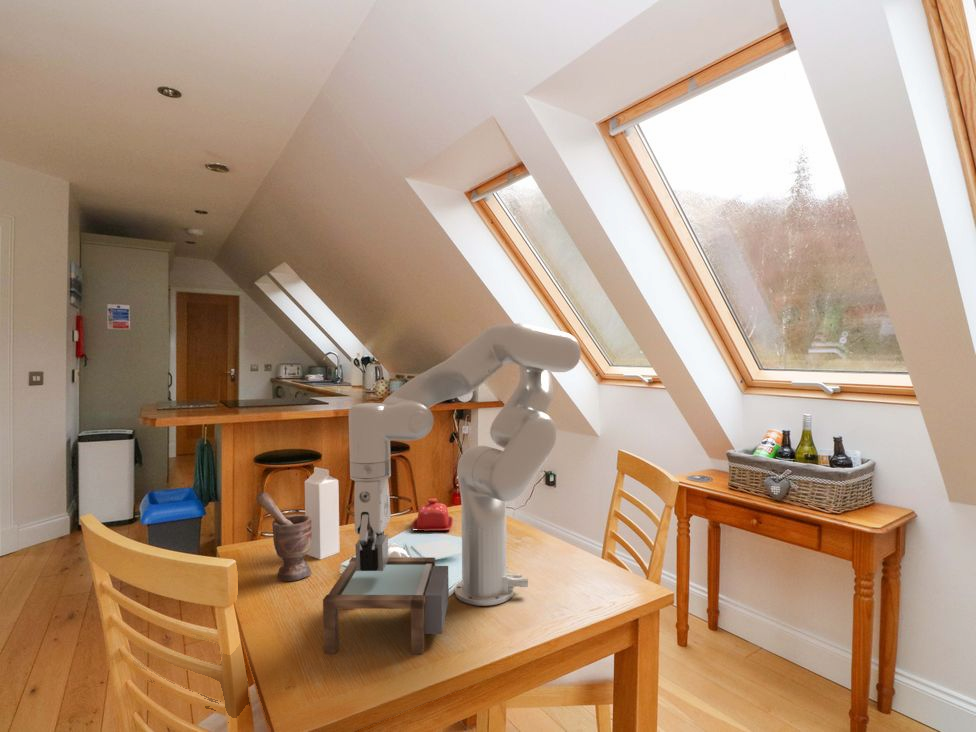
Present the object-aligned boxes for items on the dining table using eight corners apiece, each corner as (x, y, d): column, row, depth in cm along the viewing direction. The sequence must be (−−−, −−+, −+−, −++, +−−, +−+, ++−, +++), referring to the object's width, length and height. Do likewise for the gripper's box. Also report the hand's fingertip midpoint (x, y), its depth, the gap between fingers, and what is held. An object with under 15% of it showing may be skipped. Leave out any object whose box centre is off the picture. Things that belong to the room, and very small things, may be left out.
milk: (325, 547, 146) (324, 464, 145) (339, 552, 143) (338, 467, 142) (305, 554, 141) (303, 468, 141) (320, 560, 138) (318, 472, 137)
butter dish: (410, 534, 157) (410, 504, 156) (415, 521, 168) (415, 493, 168) (451, 533, 157) (451, 504, 156) (453, 520, 168) (453, 493, 168)
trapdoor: (449, 598, 113) (448, 563, 112) (441, 636, 98) (441, 596, 98) (360, 597, 113) (360, 563, 113) (340, 635, 98) (339, 596, 98)
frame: (435, 602, 115) (435, 557, 115) (423, 654, 96) (422, 600, 96) (352, 602, 115) (352, 557, 115) (323, 653, 96) (322, 599, 96)
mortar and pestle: (262, 589, 122) (260, 499, 121) (256, 575, 129) (254, 490, 128) (316, 578, 127) (314, 491, 126) (308, 565, 135) (306, 483, 134)
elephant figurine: (378, 568, 133) (377, 543, 133) (411, 564, 135) (411, 540, 135) (380, 579, 126) (380, 553, 126) (415, 575, 128) (415, 550, 128)
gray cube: (388, 560, 108) (387, 534, 108) (382, 570, 103) (382, 544, 103) (362, 560, 108) (362, 535, 108) (356, 571, 103) (355, 544, 103)
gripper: (380, 480, 96) (383, 583, 97) (398, 459, 113) (400, 547, 114) (337, 480, 96) (340, 583, 97) (361, 459, 113) (364, 547, 114)
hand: (372, 562), depth 105 cm, fingers closed on gray cube, 5 cm apart
